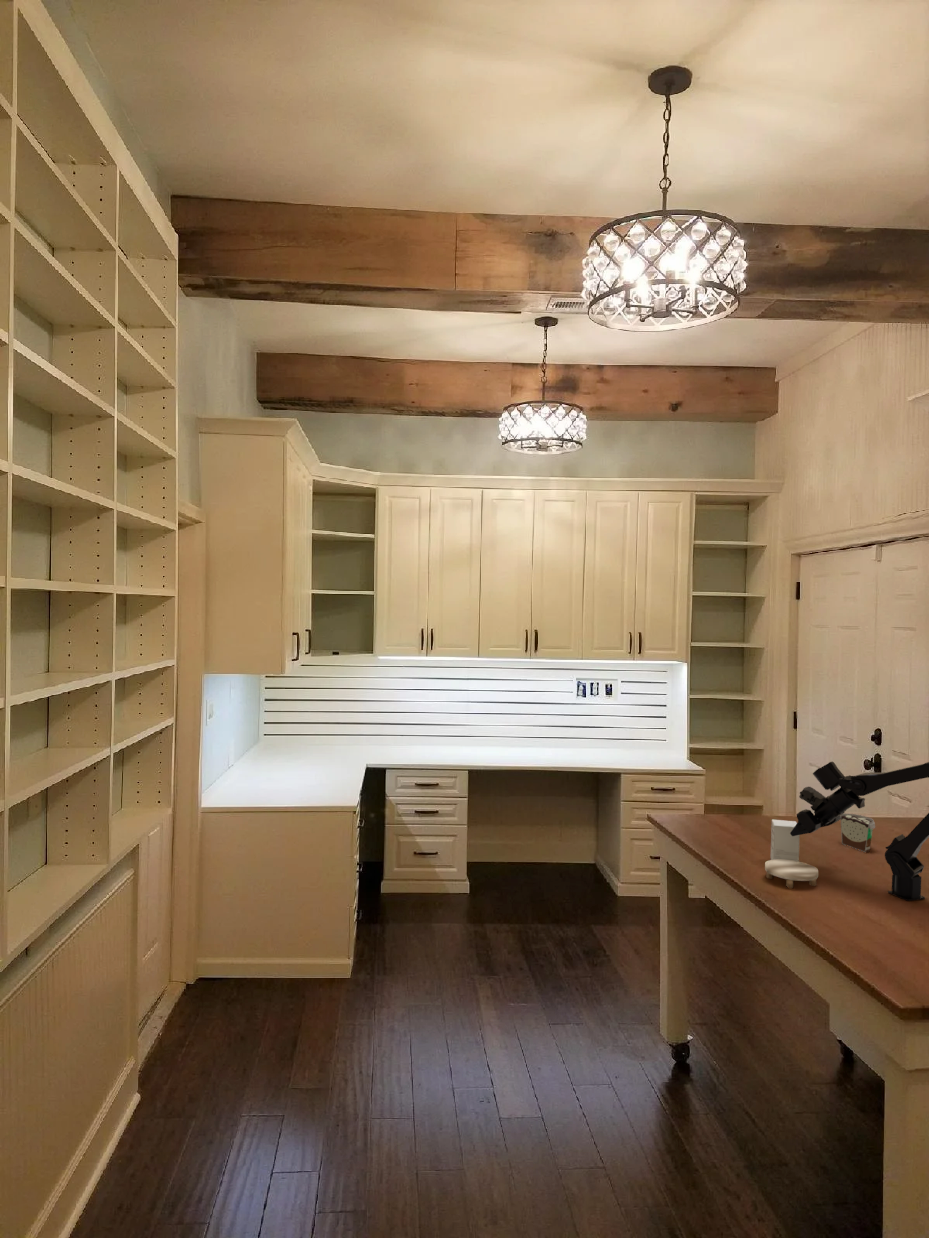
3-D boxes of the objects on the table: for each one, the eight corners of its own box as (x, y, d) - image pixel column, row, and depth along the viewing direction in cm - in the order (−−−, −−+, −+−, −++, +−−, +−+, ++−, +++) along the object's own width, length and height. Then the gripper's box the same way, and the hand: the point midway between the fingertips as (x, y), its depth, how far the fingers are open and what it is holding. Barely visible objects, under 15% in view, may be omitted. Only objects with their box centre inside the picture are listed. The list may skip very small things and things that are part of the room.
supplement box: (795, 861, 242) (797, 820, 242) (798, 869, 235) (800, 827, 235) (769, 859, 244) (771, 818, 244) (772, 866, 237) (773, 824, 237)
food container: (883, 852, 255) (884, 821, 255) (869, 853, 253) (870, 822, 252) (851, 841, 266) (852, 811, 266) (838, 842, 264) (839, 813, 264)
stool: (829, 887, 220) (829, 873, 220) (788, 891, 215) (789, 877, 215) (792, 870, 233) (793, 857, 233) (754, 874, 228) (754, 861, 228)
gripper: (831, 776, 239) (793, 804, 247) (804, 784, 226) (766, 813, 234) (857, 807, 233) (817, 835, 241) (831, 817, 220) (791, 846, 229)
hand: (797, 831), depth 236 cm, fingers open, 9 cm apart
